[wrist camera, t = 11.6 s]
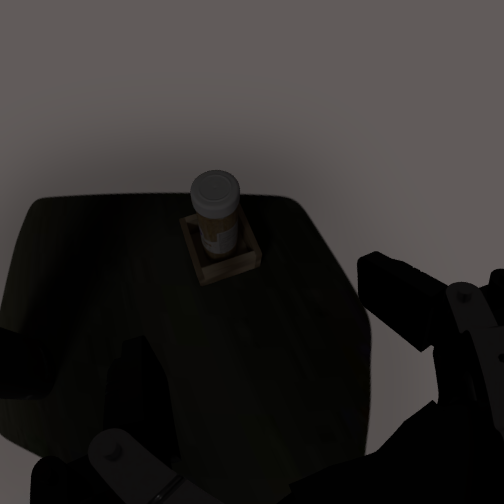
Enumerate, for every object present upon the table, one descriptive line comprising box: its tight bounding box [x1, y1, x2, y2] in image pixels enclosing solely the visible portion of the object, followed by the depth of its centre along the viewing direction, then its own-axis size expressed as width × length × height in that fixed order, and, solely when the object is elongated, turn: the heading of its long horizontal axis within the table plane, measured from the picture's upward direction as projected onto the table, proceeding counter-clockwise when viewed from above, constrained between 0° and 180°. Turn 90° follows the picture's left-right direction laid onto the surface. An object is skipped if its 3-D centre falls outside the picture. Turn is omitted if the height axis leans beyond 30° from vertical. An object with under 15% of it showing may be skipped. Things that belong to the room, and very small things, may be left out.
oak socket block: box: [179, 202, 262, 287], centre depth 36 cm, size 8×8×4 cm
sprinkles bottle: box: [190, 170, 240, 263], centre depth 32 cm, size 5×5×14 cm
